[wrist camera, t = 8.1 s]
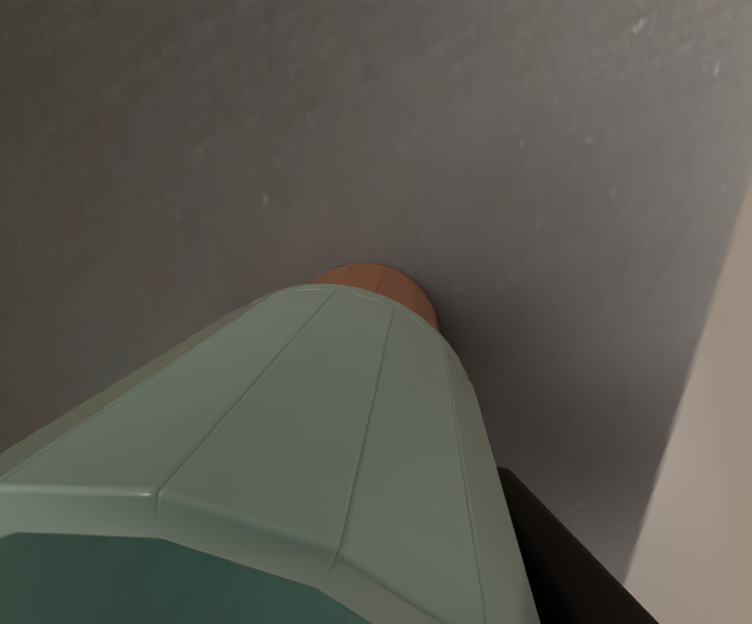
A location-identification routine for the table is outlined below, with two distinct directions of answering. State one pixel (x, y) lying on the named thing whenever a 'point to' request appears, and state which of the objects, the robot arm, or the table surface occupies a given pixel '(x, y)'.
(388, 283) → the mug
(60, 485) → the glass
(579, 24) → the table surface
